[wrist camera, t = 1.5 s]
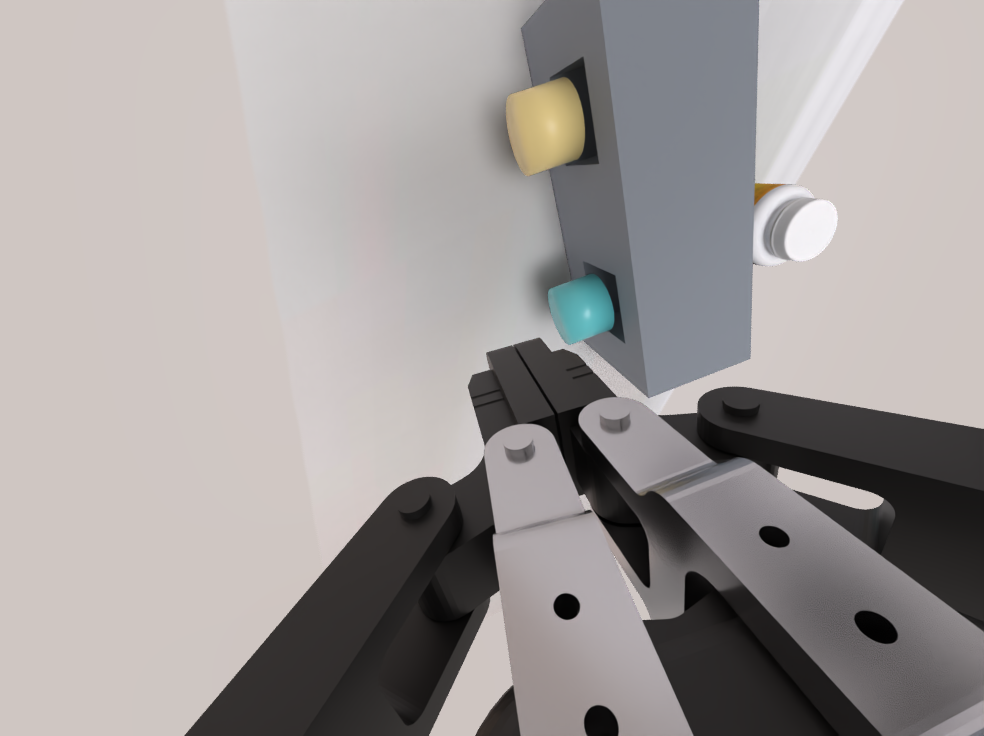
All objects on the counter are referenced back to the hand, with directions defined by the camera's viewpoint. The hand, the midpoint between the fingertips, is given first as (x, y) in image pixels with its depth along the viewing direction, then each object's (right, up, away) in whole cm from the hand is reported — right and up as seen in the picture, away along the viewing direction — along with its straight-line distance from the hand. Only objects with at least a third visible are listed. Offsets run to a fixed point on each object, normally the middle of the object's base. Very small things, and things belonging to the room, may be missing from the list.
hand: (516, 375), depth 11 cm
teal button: (+5, +5, +21) cm, 22 cm away
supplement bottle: (+18, +14, +24) cm, 33 cm away
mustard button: (+2, +15, +15) cm, 22 cm away
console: (+8, +14, +21) cm, 27 cm away
